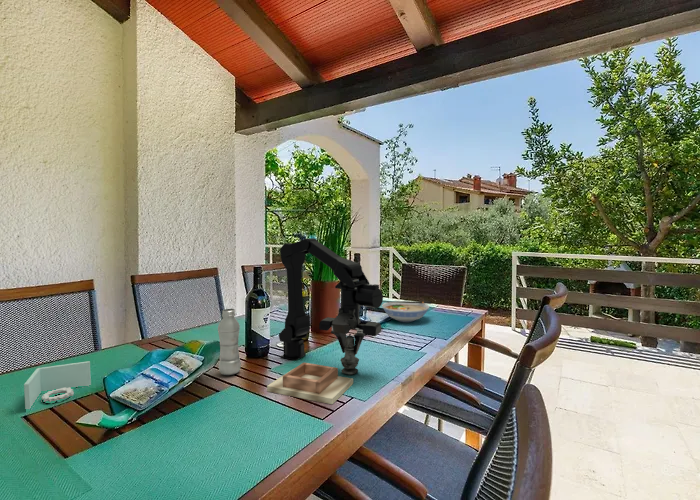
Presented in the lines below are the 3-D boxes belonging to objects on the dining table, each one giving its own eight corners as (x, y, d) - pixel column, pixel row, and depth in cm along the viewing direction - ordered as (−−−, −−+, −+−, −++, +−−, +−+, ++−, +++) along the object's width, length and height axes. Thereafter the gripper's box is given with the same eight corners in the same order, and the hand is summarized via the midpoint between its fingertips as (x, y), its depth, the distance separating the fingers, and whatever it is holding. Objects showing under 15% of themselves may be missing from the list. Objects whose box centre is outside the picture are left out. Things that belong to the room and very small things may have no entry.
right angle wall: (25, 414, 94) (24, 384, 93) (38, 395, 105) (37, 368, 104) (84, 403, 99) (83, 375, 99) (90, 386, 110) (89, 361, 110)
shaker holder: (267, 391, 106) (266, 375, 105) (293, 373, 119) (293, 359, 118) (332, 404, 98) (332, 387, 98) (353, 383, 111) (353, 368, 110)
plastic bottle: (245, 371, 120) (244, 308, 119) (230, 379, 114) (229, 313, 112) (229, 368, 123) (228, 306, 121) (213, 375, 116) (212, 311, 115)
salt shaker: (357, 375, 115) (357, 336, 114) (338, 373, 116) (338, 335, 116) (360, 368, 121) (360, 331, 120) (342, 366, 122) (342, 329, 121)
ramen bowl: (377, 325, 175) (377, 308, 175) (381, 314, 198) (381, 298, 197) (432, 328, 171) (433, 310, 171) (430, 316, 194) (430, 300, 193)
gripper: (310, 306, 114) (310, 357, 115) (369, 312, 106) (369, 366, 107) (327, 299, 124) (327, 346, 125) (382, 304, 117) (381, 354, 118)
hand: (349, 353), depth 118 cm, fingers closed on salt shaker, 4 cm apart
